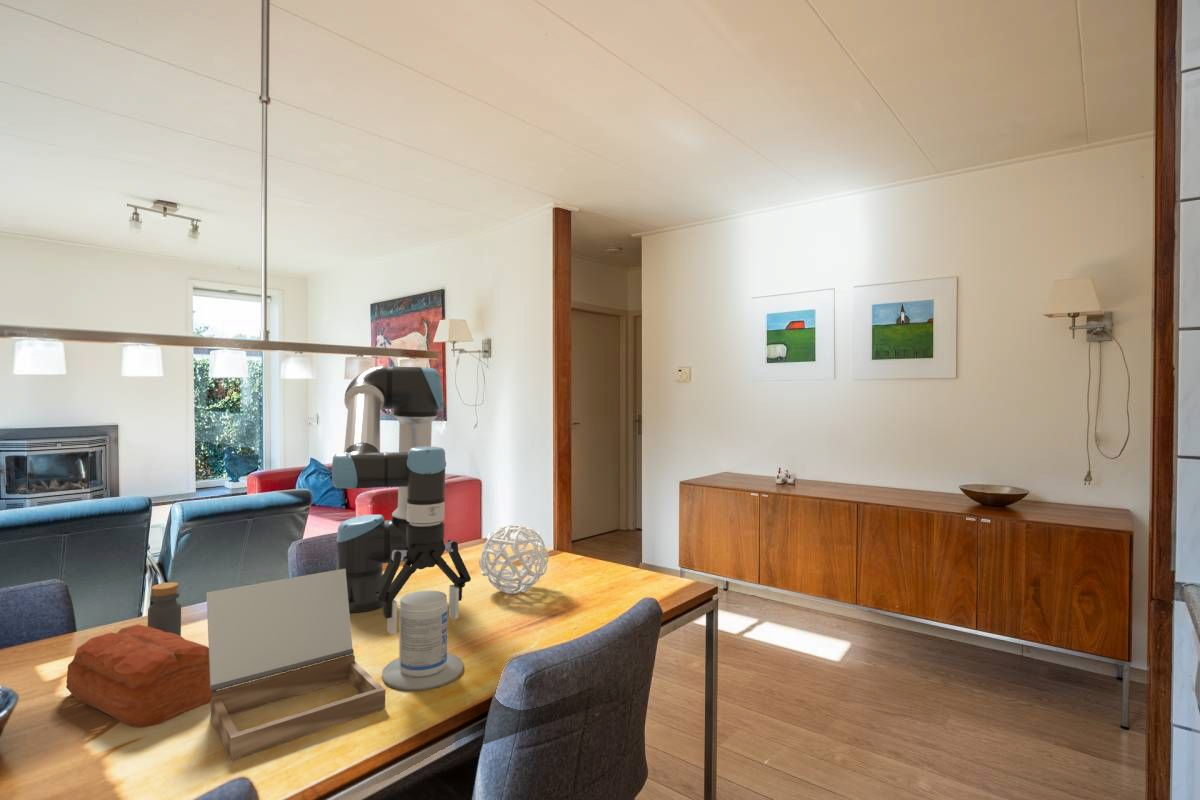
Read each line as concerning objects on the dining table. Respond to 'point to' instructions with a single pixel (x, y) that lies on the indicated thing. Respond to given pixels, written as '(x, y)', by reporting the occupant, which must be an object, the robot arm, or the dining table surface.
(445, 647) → the supplement tub
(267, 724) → the tray
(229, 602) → the lid
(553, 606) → the dining table surface
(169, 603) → the bottle
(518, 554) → the decorative ball
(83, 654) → the bread
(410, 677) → the saucer
